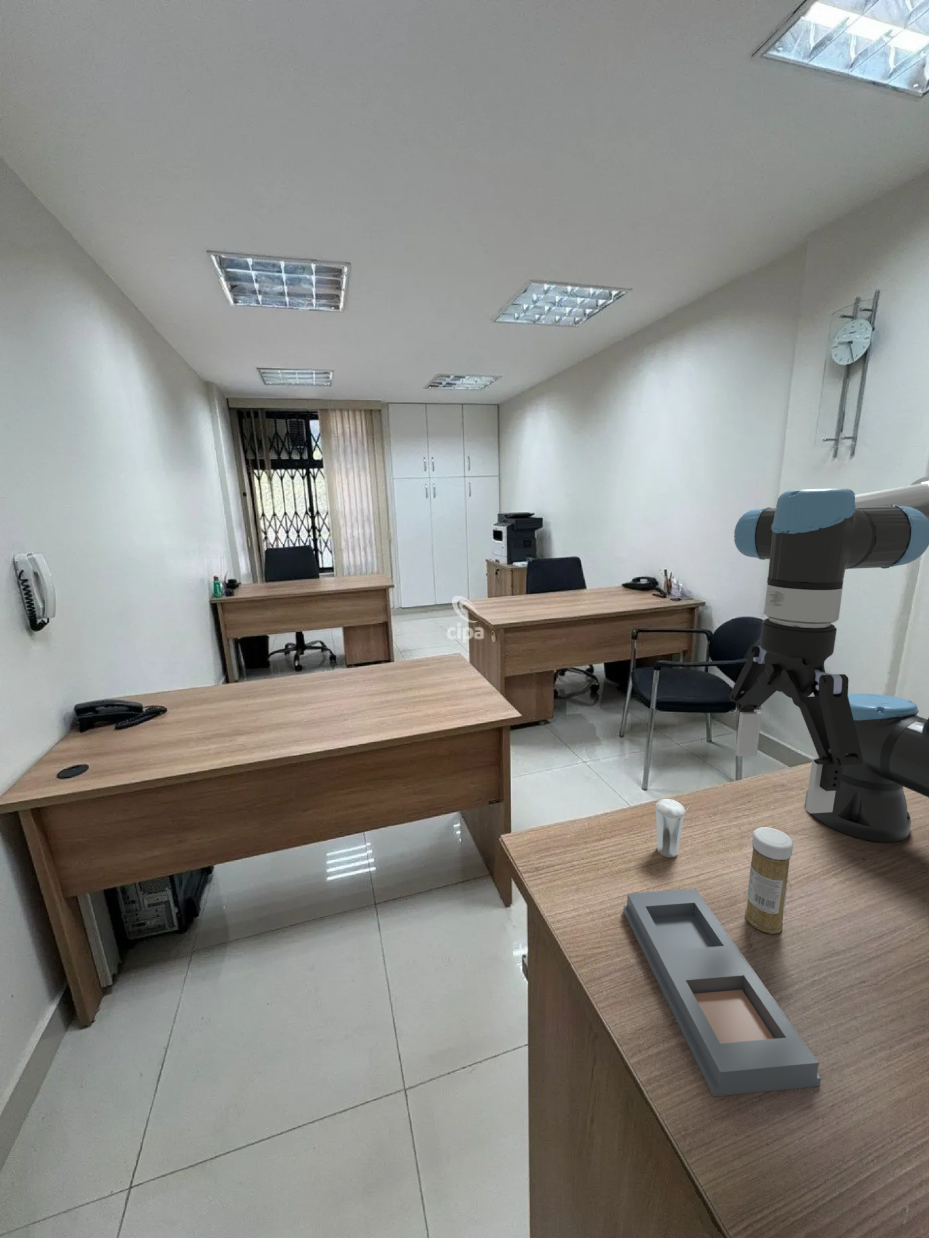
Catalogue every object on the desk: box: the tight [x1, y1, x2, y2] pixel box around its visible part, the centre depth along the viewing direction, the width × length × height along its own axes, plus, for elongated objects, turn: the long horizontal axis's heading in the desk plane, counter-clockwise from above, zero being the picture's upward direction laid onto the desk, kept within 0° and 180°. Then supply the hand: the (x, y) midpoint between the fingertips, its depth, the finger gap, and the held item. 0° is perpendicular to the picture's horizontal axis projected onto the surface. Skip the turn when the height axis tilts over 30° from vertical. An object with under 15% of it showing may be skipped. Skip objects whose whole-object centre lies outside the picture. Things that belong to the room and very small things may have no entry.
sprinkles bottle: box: [744, 826, 794, 935], centre depth 67 cm, size 5×5×13 cm
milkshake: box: [655, 798, 692, 859], centre depth 82 cm, size 5×5×10 cm
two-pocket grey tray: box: [622, 888, 822, 1098], centre depth 59 cm, size 11×23×3 cm, turn 4°
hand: (778, 780), depth 64 cm, fingers open, 13 cm apart
